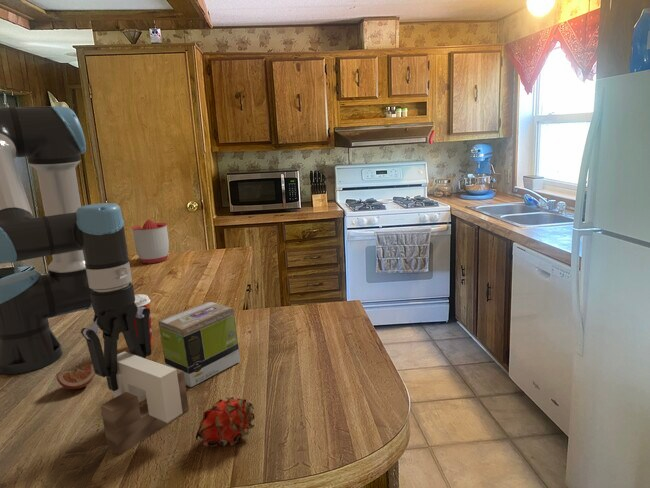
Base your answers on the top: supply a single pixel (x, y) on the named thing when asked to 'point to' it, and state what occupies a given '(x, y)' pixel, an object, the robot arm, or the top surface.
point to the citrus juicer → (151, 242)
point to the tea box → (200, 341)
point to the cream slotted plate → (151, 385)
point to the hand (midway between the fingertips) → (130, 397)
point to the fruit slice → (76, 377)
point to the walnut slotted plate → (133, 419)
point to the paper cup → (145, 302)
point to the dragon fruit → (226, 422)
